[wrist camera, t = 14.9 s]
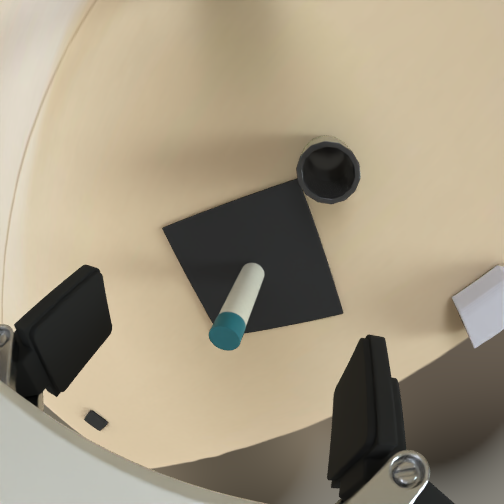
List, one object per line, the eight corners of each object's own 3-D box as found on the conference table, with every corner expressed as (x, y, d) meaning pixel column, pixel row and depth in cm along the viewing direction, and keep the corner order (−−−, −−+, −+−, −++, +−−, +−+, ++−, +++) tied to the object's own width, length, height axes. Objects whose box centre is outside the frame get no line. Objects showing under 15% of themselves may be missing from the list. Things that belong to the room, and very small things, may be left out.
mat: (163, 227, 42) (162, 228, 42) (298, 178, 35) (297, 179, 35) (221, 335, 49) (220, 337, 48) (343, 312, 42) (343, 313, 41)
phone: (83, 419, 86) (89, 411, 79) (84, 418, 87) (90, 409, 80) (99, 431, 87) (107, 424, 80) (100, 429, 88) (108, 422, 80)
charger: (534, 282, 32) (466, 331, 38) (524, 239, 30) (449, 294, 37) (547, 298, 28) (475, 351, 34) (539, 254, 26) (460, 314, 32)
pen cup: (294, 144, 33) (286, 153, 26) (342, 129, 31) (348, 133, 24) (311, 190, 35) (308, 211, 28) (358, 175, 33) (368, 193, 26)
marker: (237, 265, 42) (203, 328, 30) (259, 259, 40) (231, 324, 29) (246, 285, 43) (217, 352, 31) (268, 280, 41) (245, 348, 30)
